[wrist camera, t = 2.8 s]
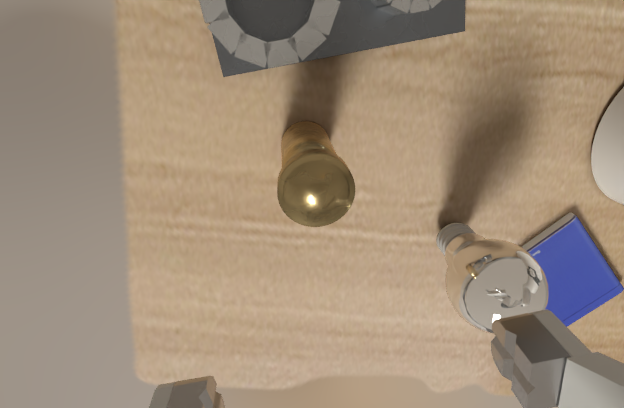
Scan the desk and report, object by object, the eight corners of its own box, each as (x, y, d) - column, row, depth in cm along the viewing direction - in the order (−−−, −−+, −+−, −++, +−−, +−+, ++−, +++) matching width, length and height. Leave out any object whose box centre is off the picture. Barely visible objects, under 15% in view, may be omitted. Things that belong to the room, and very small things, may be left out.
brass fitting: (328, 112, 30) (349, 148, 21) (336, 165, 32) (359, 219, 23) (272, 123, 30) (269, 163, 21) (283, 175, 32) (286, 233, 23)
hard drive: (504, 268, 37) (558, 332, 42) (578, 216, 35) (626, 290, 40) (495, 259, 38) (549, 322, 43) (566, 209, 36) (614, 280, 41)
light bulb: (461, 183, 34) (548, 256, 23) (496, 233, 36) (589, 319, 25) (398, 229, 35) (452, 317, 24) (436, 273, 38) (500, 371, 27)
